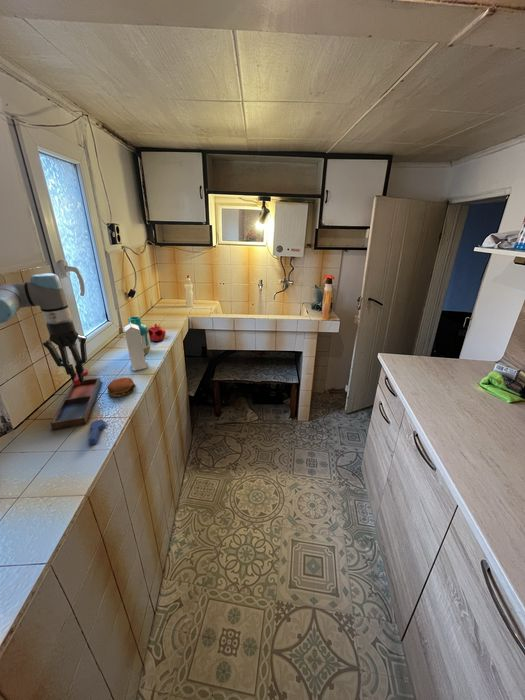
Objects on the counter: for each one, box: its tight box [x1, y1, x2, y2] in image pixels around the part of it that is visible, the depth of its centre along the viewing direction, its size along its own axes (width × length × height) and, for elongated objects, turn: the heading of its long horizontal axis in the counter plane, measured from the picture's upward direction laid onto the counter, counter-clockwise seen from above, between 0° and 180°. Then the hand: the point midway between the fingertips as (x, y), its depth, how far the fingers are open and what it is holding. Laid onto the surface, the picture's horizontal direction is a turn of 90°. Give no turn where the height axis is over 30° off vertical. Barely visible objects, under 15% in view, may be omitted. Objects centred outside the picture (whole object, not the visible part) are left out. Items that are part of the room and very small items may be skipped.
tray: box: [50, 376, 102, 431], centre depth 104 cm, size 10×28×3 cm, turn 18°
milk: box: [123, 323, 148, 372], centre depth 126 cm, size 6×6×22 cm
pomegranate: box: [148, 323, 167, 342], centre depth 159 cm, size 10×10×9 cm
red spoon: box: [72, 368, 89, 385], centre depth 107 cm, size 4×10×2 cm, turn 18°
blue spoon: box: [88, 419, 106, 445], centre depth 89 cm, size 4×10×2 cm, turn 18°
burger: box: [107, 377, 137, 398], centre depth 110 cm, size 10×9×5 cm
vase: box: [127, 315, 151, 355], centre depth 139 cm, size 11×11×19 cm
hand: (78, 380), depth 105 cm, fingers closed on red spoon, 1 cm apart
